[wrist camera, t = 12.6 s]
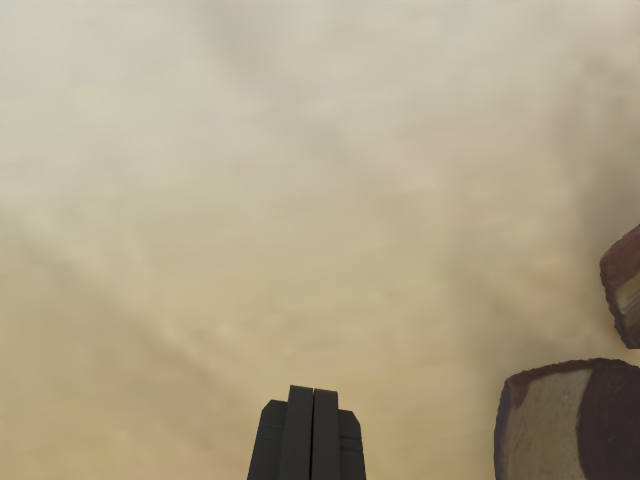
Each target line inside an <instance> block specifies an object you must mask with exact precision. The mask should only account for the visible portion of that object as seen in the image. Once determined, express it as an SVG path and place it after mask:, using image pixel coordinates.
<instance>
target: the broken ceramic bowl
mask: <svg viewBox="0 0 640 480" xmlns="http://www.w3.org/2000/svg"><path fill="white" fill-rule="evenodd" d="M600 270H601V273H600V276H601V280H602V284H603V285H604V286H605V292H606V300H607V302H608V303H609V305H610V306H609V310H610V312H611V313H612V315H613V316H614V317H615V326H614V327H615V328H616V329H617V331H618V333H619V334H620V336H621V340H622V341H623V343H625V344H626V347H627V348H629V349H640V225H638V226H637V227H636V228H634V229H633V230H631V231H630V232H629V233H627V234H626V235H625V236H623V237H622V239H621V240H619V241H617V242H616V243H615V244H613V245H612V246H611V248H610V249H608V251H607V252H606V253H605V254H604V255H603V257H602V258H601V260H600ZM494 467H495V478H496V480H640V368H639V367H638V366H632V365H630V364H628V363H626V362H625V361H621V360H620V359H618V360H608V359H604V358H596V359H591V358H590V359H589V360H587V361H584V360H576V361H575V360H570V361H567V362H564V363H561V362H559V364H558V365H557V364H553V365H548V366H544V367H541V368H536V369H531V370H529V371H522V372H521V373H518V374H515V375H513V376H511V377H510V378H508V379H507V380H506V381H505V385H504V388H503V390H502V393H501V399H500V404H499V407H498V414H497V417H496V426H495V431H494Z"/></svg>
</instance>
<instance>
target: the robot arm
mask: <svg viewBox="0 0 640 480" xmlns="http://www.w3.org/2000/svg"><path fill="white" fill-rule="evenodd" d="M361 439H362V437H361V428H360V423H359V422H358V420H357V419H356V417H355V415H354V414H353V412H352V411H347V410H340V409H338V393H337V392H336V391H329V390H322V389H316V388H315V389H314V392H313V388H308V387H301V386H294V385H290V391H289V397H288V402H285V401H278V400H270V402H269V403H268V404H267V405H266V406H265V407H264V409H263V410H262V413H261V417H260V422H259V427H258V431H257V436H256V440H255V445H254V450H253V454H252V459H251V463H250V468H249V473H248V477H247V480H366V473H365V464H364V455H363V446H362V441H361Z"/></svg>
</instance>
